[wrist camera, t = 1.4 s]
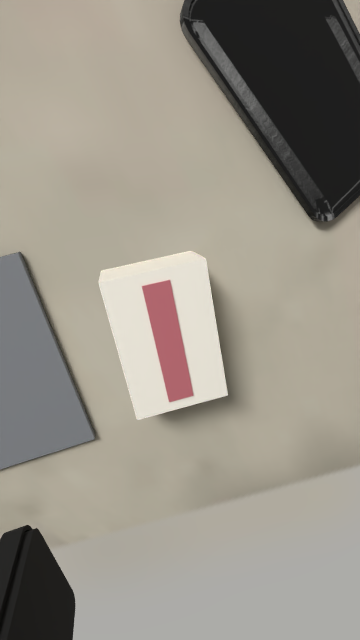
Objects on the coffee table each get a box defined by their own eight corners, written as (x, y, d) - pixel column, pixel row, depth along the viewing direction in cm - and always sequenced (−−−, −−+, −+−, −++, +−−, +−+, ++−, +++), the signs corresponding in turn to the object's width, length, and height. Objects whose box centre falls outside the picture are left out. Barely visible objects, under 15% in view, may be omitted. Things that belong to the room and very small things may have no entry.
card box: (190, 250, 22) (206, 258, 18) (211, 367, 25) (228, 396, 21) (101, 269, 21) (98, 283, 18) (133, 388, 25) (137, 420, 21)
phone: (323, 228, 22) (173, 8, 17) (314, 228, 23) (170, 20, 18) (416, 142, 22) (289, -115, 16) (402, 146, 23) (278, -96, 17)
